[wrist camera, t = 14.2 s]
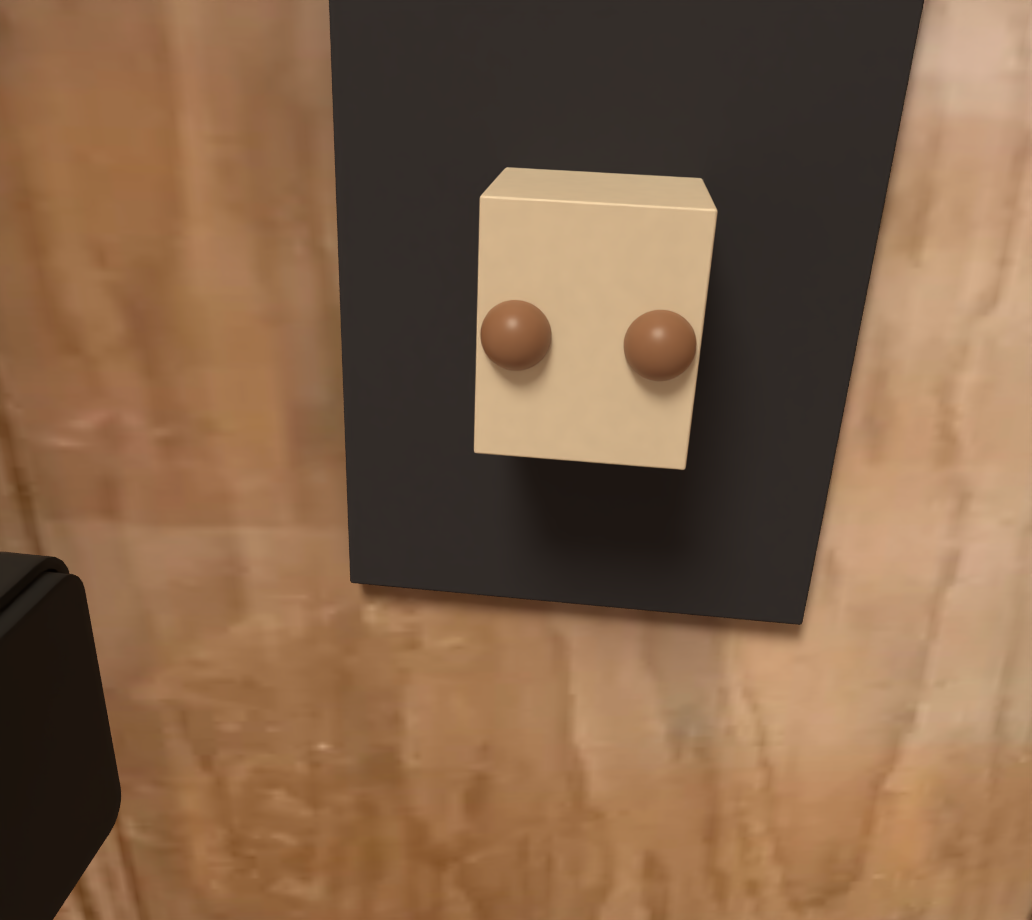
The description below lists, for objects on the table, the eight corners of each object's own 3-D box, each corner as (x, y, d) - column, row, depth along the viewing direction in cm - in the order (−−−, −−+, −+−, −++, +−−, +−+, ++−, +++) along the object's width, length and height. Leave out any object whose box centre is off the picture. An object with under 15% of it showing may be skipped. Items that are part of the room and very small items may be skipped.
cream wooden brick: (505, 166, 24) (473, 201, 20) (702, 177, 24) (721, 216, 19) (497, 388, 27) (468, 468, 22) (676, 401, 26) (686, 486, 22)
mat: (331, -161, 23) (321, -167, 22) (943, -143, 21) (954, -148, 21) (356, 570, 31) (349, 583, 30) (798, 611, 30) (802, 626, 29)
